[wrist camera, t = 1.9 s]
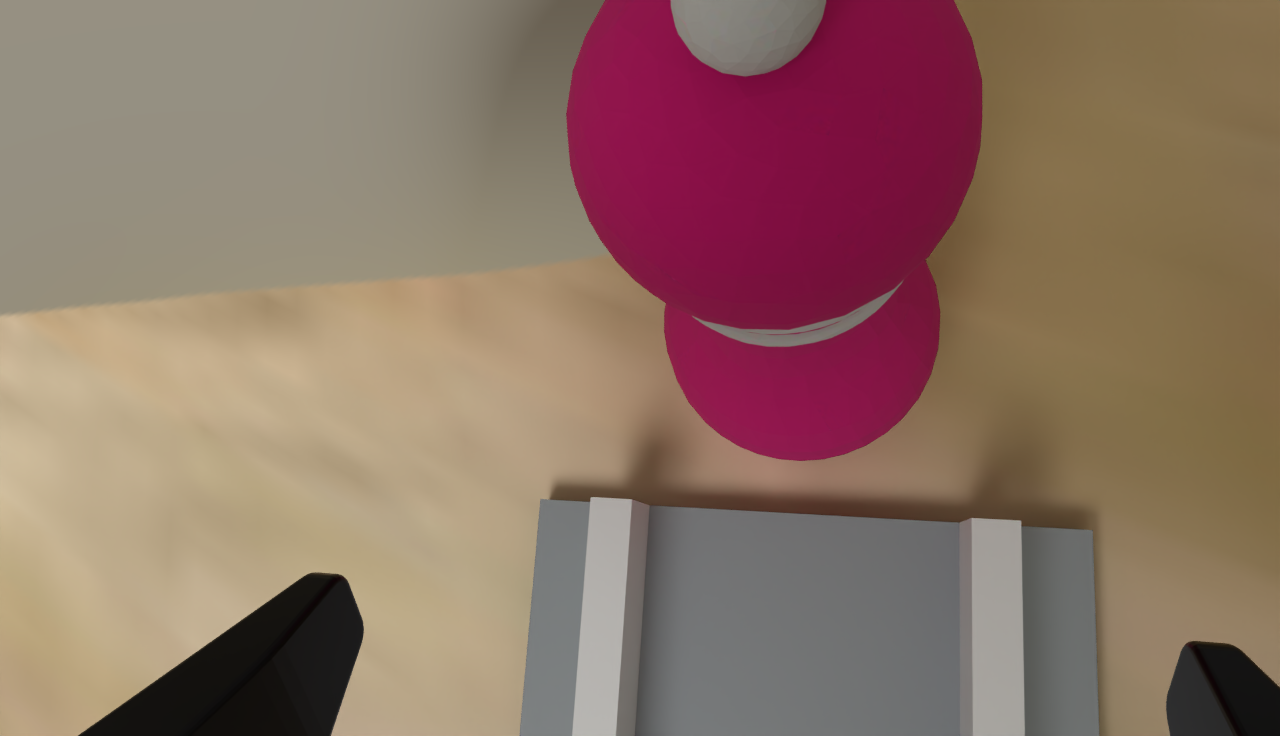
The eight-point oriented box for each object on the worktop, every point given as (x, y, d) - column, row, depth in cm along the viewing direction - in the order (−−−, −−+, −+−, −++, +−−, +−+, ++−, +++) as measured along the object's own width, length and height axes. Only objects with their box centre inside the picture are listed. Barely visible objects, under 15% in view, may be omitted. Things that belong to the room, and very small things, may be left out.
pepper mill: (968, 414, 27) (1272, 54, 8) (748, 514, 28) (560, 396, 9) (858, 213, 29) (896, -449, 10) (656, 312, 30) (340, -138, 11)
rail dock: (1097, 934, 24) (1137, 989, 21) (517, 850, 27) (476, 887, 24) (1085, 531, 26) (1119, 526, 23) (548, 501, 29) (513, 492, 26)
